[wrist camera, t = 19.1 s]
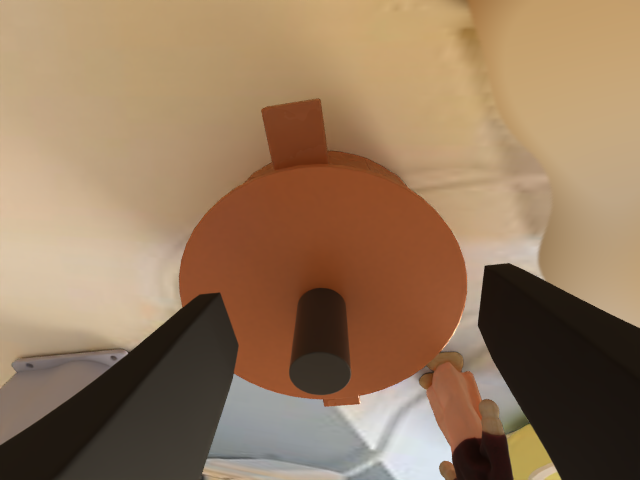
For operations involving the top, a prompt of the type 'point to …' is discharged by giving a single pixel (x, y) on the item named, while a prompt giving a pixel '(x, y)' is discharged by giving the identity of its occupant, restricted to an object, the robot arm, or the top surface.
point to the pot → (307, 154)
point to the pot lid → (328, 279)
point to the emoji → (529, 456)
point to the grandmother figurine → (466, 422)
